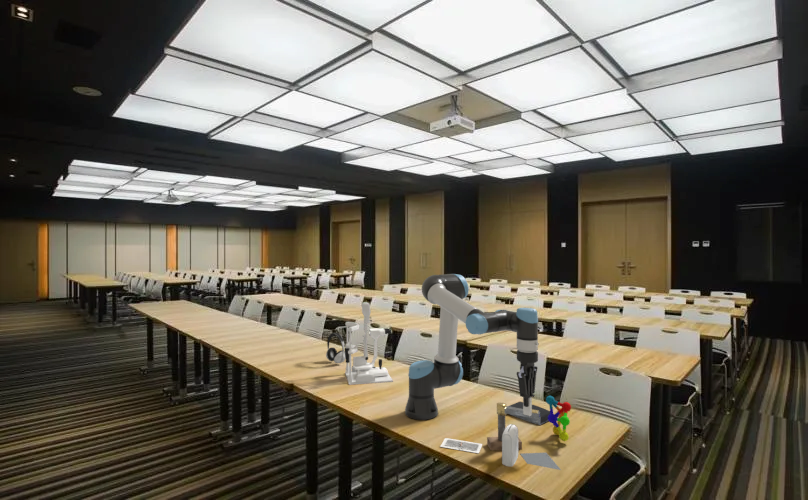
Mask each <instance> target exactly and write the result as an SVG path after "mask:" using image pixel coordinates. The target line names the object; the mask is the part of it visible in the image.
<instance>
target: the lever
mask: <svg viewBox="0 0 808 500" xmlns="http://www.w3.org/2000/svg"><path fill="white" fill-rule="evenodd" d="M509 406H510V405H507V403H506V402H505V403H504V402H497V403H496V414H497V416H498V415H505V416H506V415H507V414H508V415H510V414H512V415H518V416H523V417H529V418H534V419H539V418H540V412H539V410H533V409H532V415H531V416H528V415H524V414H523V409H521V408H515V407H509ZM512 415H511V416H512Z"/></svg>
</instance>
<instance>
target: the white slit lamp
mask: <svg viewBox="0 0 808 500" xmlns="http://www.w3.org/2000/svg"><path fill="white" fill-rule="evenodd" d="M371 312H372V311H371V306H370V302H367V301H365V302H362V303H361V313H362V315H363V331H364V334H363V335H362V337H363V340H362V343H363V345H362V346H363V355H359V356H353V357H352V355H353V354H355V353H357V352H358V351H359V348H358V345H357V344H356V345H355V344H352V332H356V331H358V330H359V329H360V324H359V323H357V322H353V321H345V327H346V344H344V351H345V363H346V367H345V371H344V372H345V378H346V379H347V383H348V385H349V386H352V385H365V384H366V385H367V384H381V383H392V382H394V380H393V378H392V377H391V375H390V374H389V372H388V369H387V368H386V367H383V366H382V365H383V359H381V358H379V359H378V366H375V364H376V363H375V362H376V360H377V358H378V340H379V338H380V336H383V337H384V336H386V335H387V334H388V335H389V334H392V330H391V329H390V328H388V327H387V328H385V327H384V328H383V327H382V328H379V327H375V328H369V326H368V325H369V324H370V323H371V322H372V321H373V320H372V317H371ZM367 333H368V334H367ZM368 335H369V338H372V339H373V350H374V351H373V357H372V360H371V362H368V360H369V351H368Z"/></svg>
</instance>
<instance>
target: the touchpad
mask: <svg viewBox="0 0 808 500" xmlns="http://www.w3.org/2000/svg"><path fill="white" fill-rule="evenodd" d="M439 447H440V448H444V449H452V450H458V451H464V452H469V453H475V454H479V453H480V452H481V449H482V447H483V443H478V442H472V441H466V440H460V439H455V438H447V437H445V438H443V441H442V443H441V444H440V445H439Z"/></svg>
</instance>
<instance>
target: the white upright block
mask: <svg viewBox="0 0 808 500" xmlns="http://www.w3.org/2000/svg"><path fill="white" fill-rule="evenodd" d="M518 438H519V429H518V426H517V425H516V424H513V423H510V424H508V425H507V426H505V430H504V432H503V435H502V450H501V463H502V465H503V466H506V467H513V466H515V463H516V462H517V460H518V457H519V449H518Z"/></svg>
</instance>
